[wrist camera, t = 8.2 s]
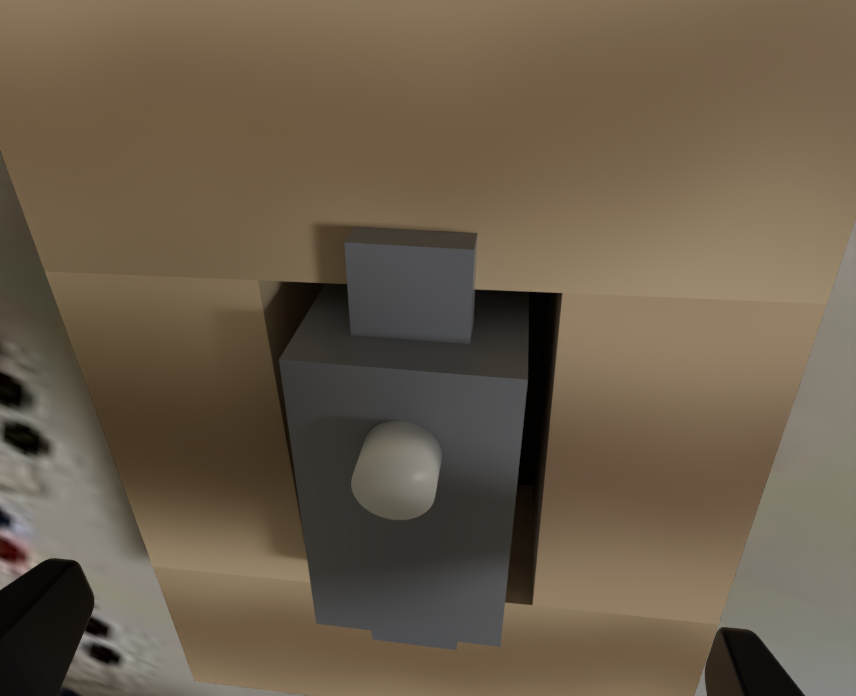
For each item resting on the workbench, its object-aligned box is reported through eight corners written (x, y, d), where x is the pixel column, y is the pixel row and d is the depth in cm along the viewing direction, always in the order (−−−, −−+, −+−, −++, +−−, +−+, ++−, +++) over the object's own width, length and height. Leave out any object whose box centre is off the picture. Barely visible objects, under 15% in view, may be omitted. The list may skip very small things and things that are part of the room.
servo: (505, 507, 17) (493, 735, 12) (373, 493, 17) (311, 708, 13) (536, 162, 12) (538, 311, 7) (354, 154, 13) (242, 290, 8)
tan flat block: (655, 612, 18) (678, 741, 15) (245, 570, 20) (194, 681, 17) (827, -66, 10) (952, -68, 7) (87, -46, 11) (-69, -41, 8)
